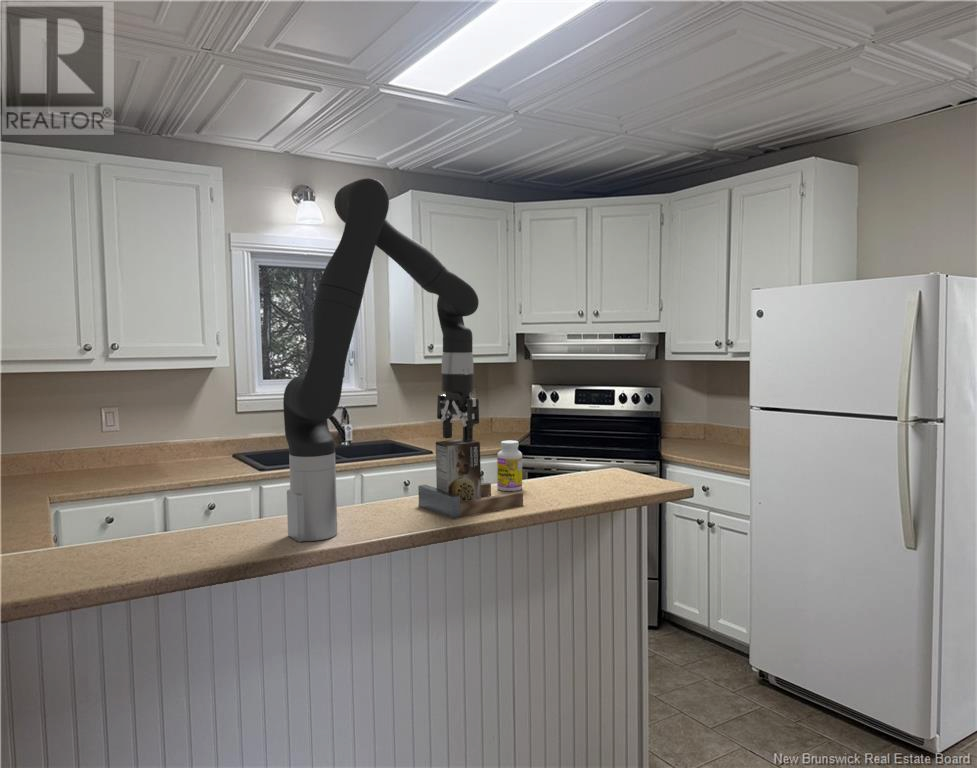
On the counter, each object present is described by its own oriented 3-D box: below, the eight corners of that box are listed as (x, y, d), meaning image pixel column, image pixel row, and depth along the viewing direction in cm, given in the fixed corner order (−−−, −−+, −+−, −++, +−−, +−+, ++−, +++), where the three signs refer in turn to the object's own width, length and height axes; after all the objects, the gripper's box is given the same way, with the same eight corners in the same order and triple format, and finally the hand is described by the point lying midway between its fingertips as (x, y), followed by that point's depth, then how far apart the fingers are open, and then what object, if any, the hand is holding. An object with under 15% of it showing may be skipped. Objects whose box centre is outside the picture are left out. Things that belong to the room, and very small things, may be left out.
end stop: (453, 519, 154) (452, 497, 153) (418, 506, 166) (418, 485, 165) (460, 517, 155) (460, 495, 154) (425, 504, 167) (425, 484, 166)
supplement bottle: (493, 490, 182) (492, 442, 181) (504, 485, 188) (503, 439, 187) (515, 493, 179) (515, 444, 178) (526, 488, 184) (526, 440, 183)
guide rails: (460, 517, 155) (459, 504, 155) (426, 504, 167) (426, 492, 166) (523, 504, 166) (523, 492, 166) (487, 493, 178) (487, 482, 177)
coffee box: (468, 502, 169) (467, 437, 168) (482, 508, 163) (481, 441, 162) (435, 507, 164) (434, 441, 163) (448, 513, 159) (447, 444, 157)
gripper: (428, 371, 165) (428, 438, 166) (461, 373, 153) (461, 445, 154) (454, 370, 169) (453, 435, 170) (488, 372, 158) (488, 442, 159)
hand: (457, 440), depth 162 cm, fingers open, 8 cm apart
